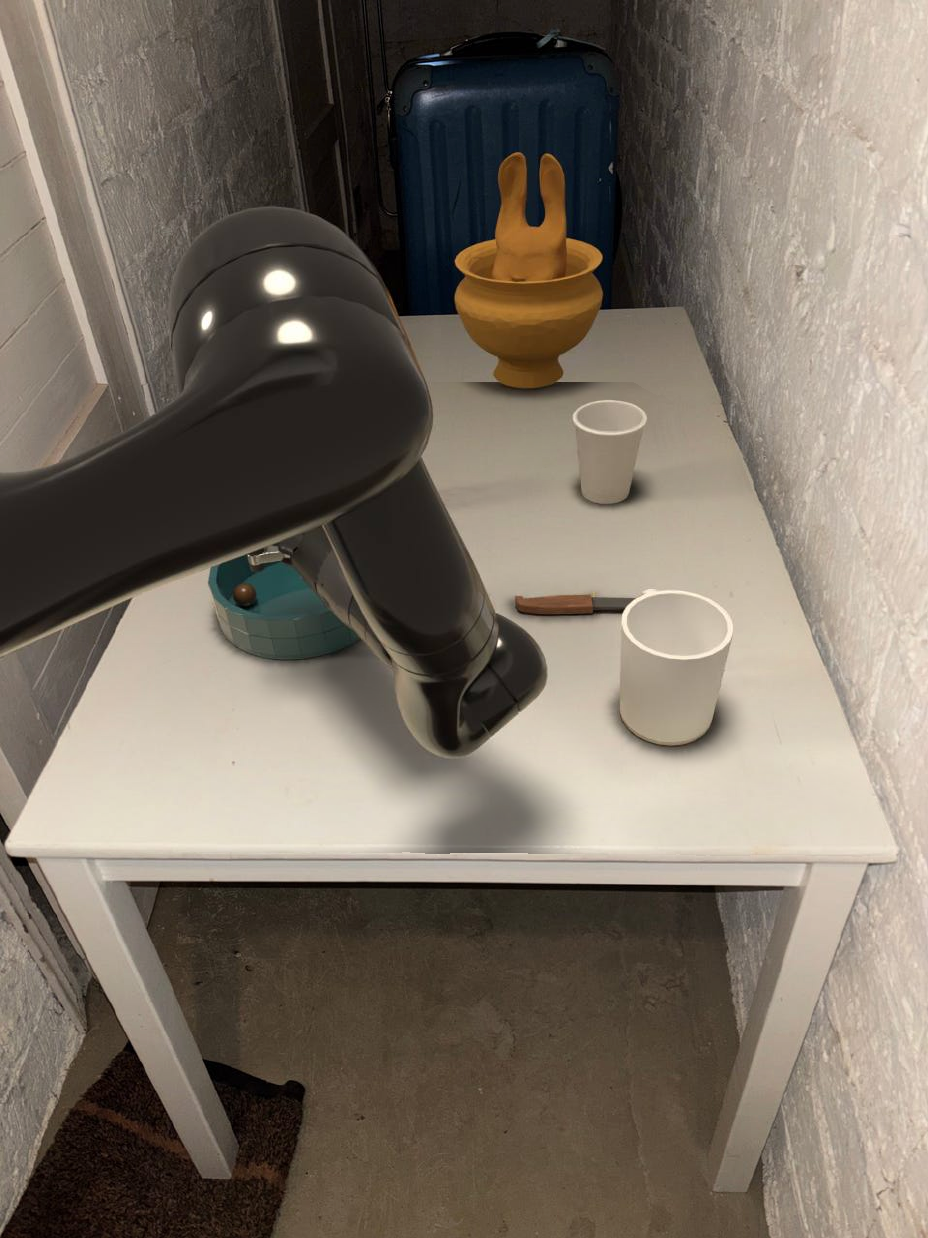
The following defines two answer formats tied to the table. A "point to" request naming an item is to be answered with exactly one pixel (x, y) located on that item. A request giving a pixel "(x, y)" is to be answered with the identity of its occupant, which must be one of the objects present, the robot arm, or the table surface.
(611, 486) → the dixie cup
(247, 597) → the bead
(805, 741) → the table surface
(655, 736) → the mug
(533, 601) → the knife
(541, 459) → the table surface
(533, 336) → the decorative bowl
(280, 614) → the bowl
